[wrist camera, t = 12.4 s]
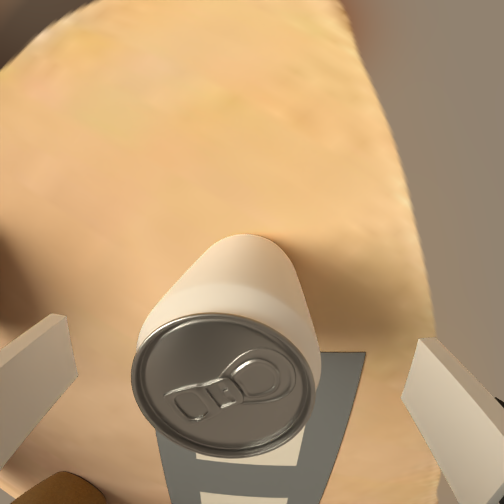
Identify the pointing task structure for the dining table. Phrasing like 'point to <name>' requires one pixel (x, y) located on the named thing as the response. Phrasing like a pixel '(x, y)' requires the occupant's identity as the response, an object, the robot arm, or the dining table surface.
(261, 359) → the can
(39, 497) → the plant pot
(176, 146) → the dining table surface
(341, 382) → the label panel
